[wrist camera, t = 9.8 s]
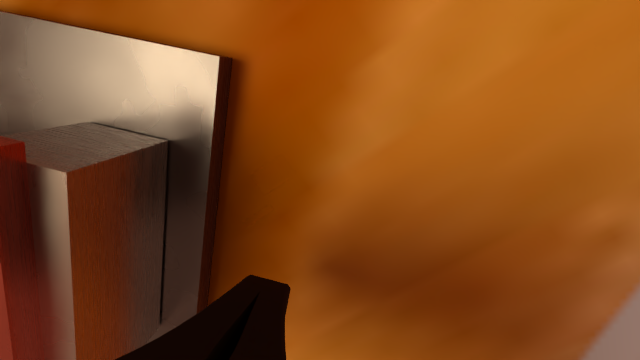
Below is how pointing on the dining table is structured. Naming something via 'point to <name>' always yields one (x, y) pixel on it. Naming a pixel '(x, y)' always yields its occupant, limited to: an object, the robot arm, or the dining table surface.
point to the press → (131, 125)
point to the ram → (80, 242)
